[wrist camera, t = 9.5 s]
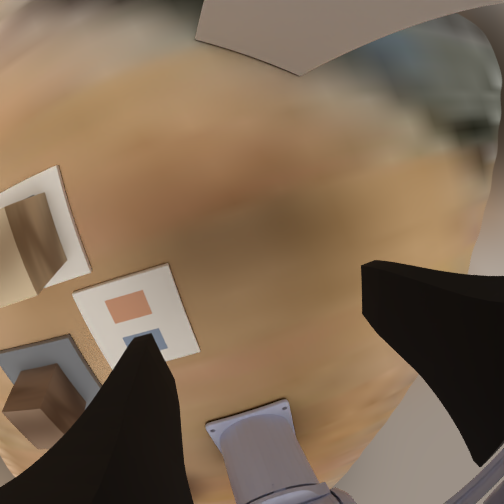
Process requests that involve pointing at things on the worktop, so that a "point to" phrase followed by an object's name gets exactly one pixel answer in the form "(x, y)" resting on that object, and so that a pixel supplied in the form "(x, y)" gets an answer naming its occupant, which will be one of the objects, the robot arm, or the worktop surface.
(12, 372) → the slate coaster
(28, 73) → the worktop surface
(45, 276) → the oak block
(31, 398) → the walnut block
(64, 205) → the code tile
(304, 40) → the milk carton
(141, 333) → the code tile
